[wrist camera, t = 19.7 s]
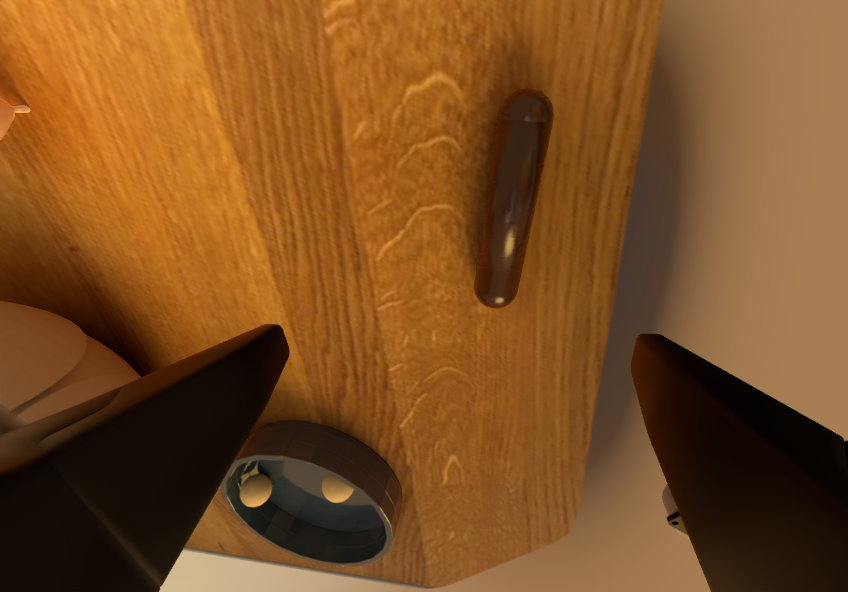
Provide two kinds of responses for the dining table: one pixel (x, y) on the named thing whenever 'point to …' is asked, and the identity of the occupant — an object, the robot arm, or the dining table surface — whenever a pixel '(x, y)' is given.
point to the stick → (512, 194)
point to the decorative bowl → (50, 366)
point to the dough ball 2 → (335, 489)
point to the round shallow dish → (316, 494)
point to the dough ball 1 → (255, 490)
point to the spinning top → (9, 115)
